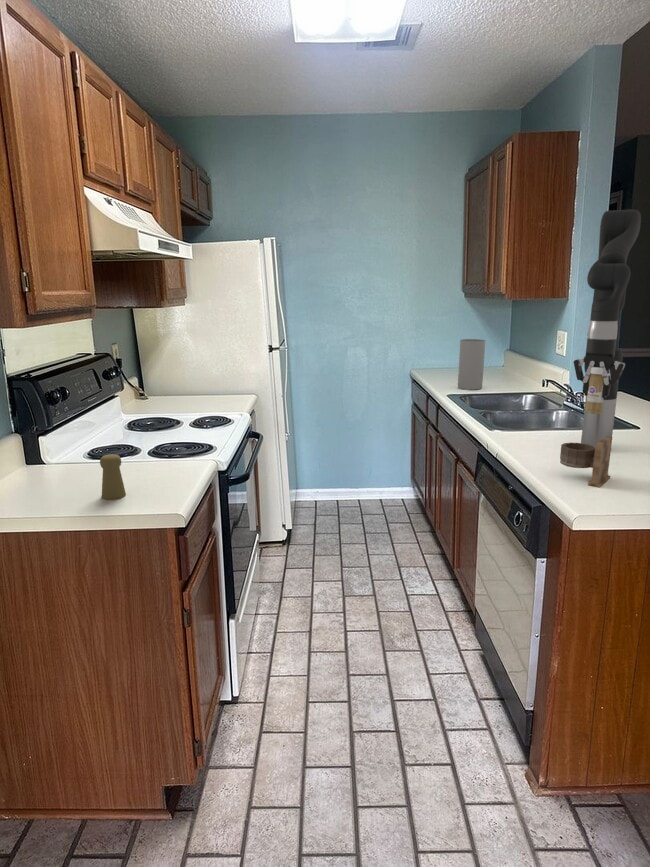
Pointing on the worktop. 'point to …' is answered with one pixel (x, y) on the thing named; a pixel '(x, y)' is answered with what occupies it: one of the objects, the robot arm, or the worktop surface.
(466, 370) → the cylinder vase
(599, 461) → the bracket
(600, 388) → the sprinkles bottle
